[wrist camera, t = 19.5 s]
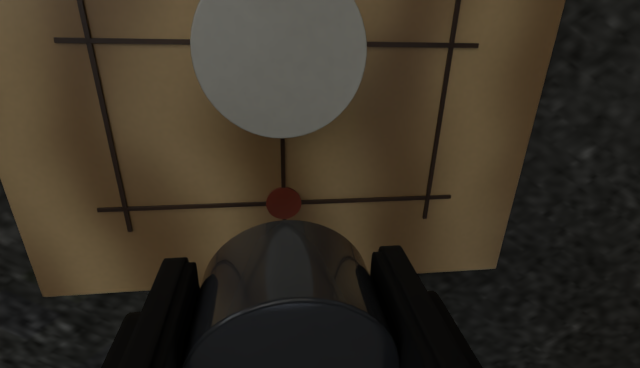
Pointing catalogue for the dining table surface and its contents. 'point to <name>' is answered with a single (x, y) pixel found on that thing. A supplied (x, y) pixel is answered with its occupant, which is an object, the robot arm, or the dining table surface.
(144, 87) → the board
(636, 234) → the dining table surface
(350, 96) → the white stone
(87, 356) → the dining table surface
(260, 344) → the hockey puck
